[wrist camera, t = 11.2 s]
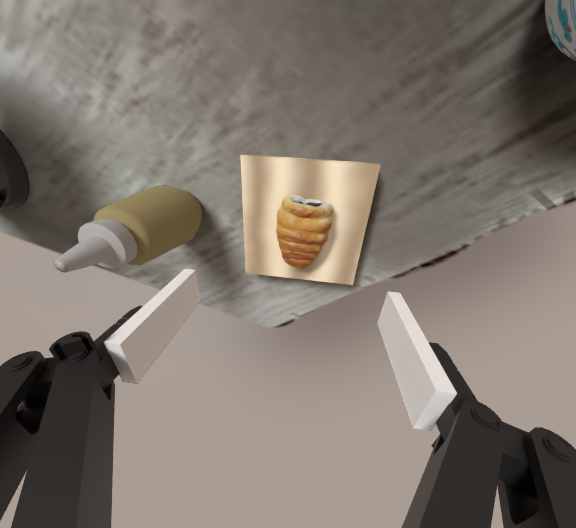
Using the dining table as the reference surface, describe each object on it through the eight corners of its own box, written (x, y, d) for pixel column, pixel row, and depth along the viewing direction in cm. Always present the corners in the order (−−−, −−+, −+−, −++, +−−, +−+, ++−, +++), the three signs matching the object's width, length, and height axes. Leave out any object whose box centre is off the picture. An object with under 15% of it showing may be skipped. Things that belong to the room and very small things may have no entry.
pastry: (320, 266, 31) (320, 281, 28) (273, 258, 32) (268, 271, 28) (335, 200, 27) (337, 207, 23) (281, 191, 27) (275, 197, 24)
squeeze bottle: (154, 218, 34) (12, 278, 18) (165, 170, 31) (0, 192, 15) (201, 244, 35) (106, 321, 19) (218, 199, 32) (116, 250, 16)
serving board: (250, 263, 36) (245, 272, 33) (247, 154, 28) (240, 155, 26) (350, 274, 34) (352, 285, 32) (374, 163, 27) (380, 164, 24)
